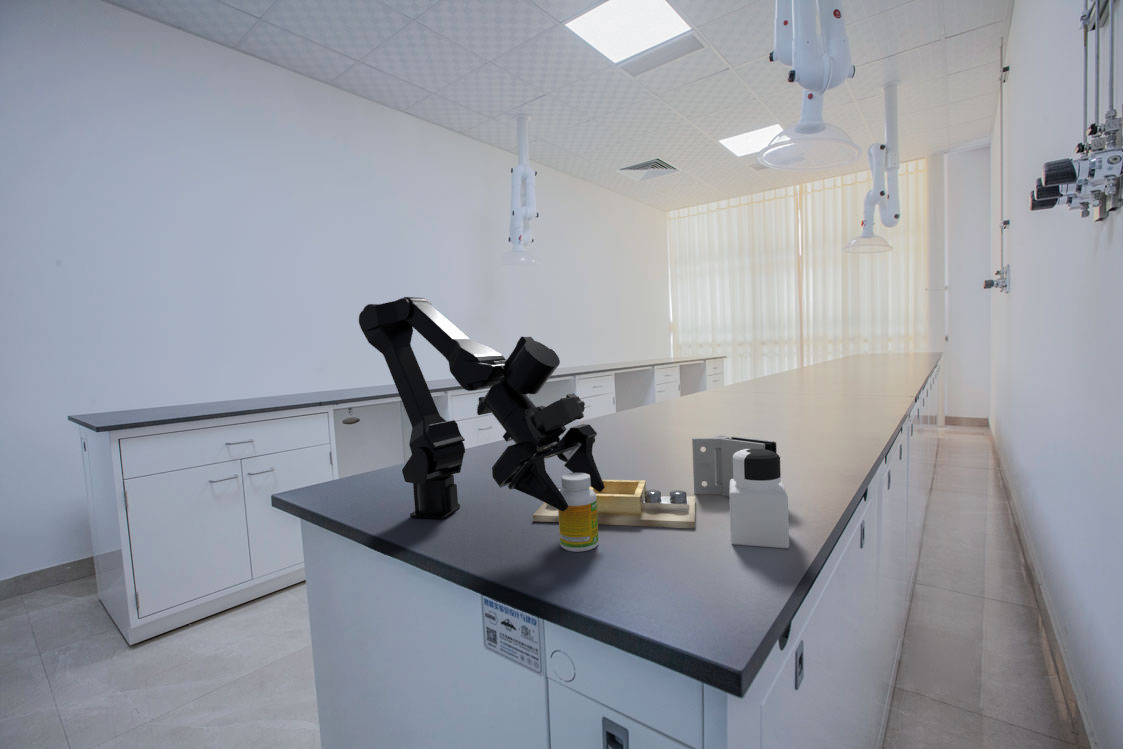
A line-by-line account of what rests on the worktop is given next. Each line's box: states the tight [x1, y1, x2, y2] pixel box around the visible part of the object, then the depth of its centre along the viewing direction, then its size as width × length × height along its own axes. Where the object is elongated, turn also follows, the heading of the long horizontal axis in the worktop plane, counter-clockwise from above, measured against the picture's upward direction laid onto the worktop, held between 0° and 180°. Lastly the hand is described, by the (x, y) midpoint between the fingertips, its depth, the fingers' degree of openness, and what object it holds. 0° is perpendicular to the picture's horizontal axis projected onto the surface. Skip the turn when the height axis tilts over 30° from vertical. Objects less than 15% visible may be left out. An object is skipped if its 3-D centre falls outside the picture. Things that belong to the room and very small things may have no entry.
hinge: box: [691, 434, 778, 497], centre depth 87 cm, size 14×5×10 cm, turn 52°
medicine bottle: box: [728, 449, 790, 549], centre depth 68 cm, size 7×7×12 cm
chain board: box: [532, 495, 696, 529], centre depth 82 cm, size 25×12×1 cm, turn 75°
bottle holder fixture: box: [546, 479, 689, 516], centre depth 82 cm, size 23×9×3 cm, turn 75°
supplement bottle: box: [558, 472, 599, 553], centre depth 69 cm, size 5×5×10 cm
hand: (585, 499), depth 68 cm, fingers open, 9 cm apart
